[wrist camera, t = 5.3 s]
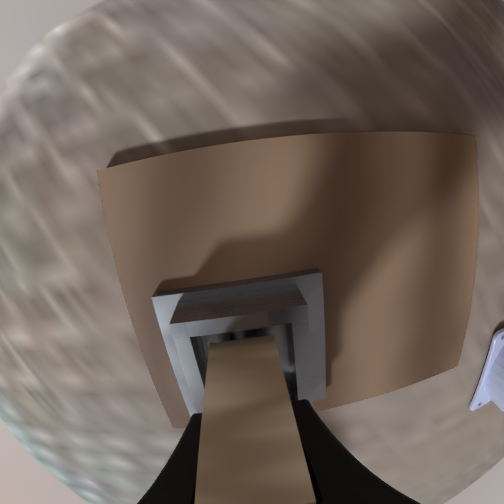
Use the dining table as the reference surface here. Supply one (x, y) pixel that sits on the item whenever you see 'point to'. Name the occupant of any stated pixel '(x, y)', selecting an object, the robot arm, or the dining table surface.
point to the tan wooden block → (249, 429)
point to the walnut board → (310, 244)
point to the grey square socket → (247, 328)
